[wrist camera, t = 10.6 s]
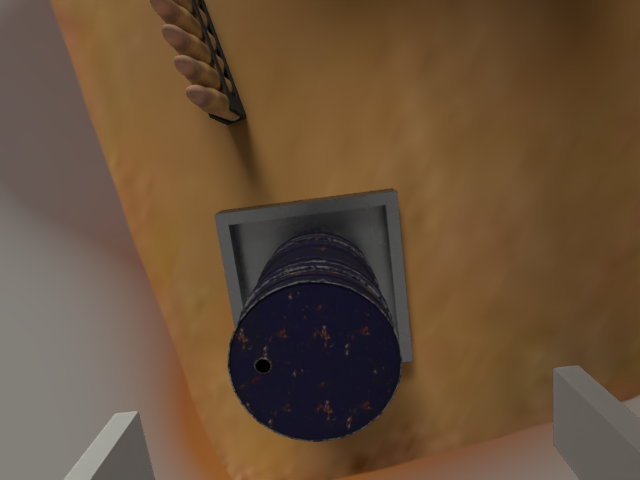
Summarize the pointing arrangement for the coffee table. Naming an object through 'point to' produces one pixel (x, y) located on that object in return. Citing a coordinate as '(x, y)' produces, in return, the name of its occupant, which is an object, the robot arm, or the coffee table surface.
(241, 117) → the ammunition clip
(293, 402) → the storage jar
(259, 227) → the cradle tray
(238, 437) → the coffee table surface
